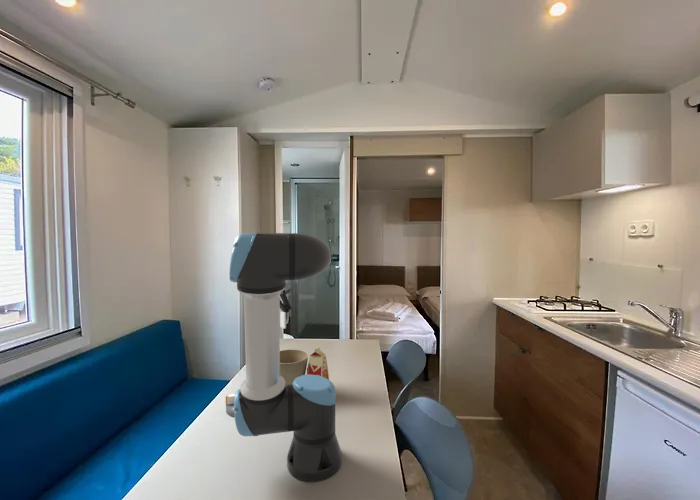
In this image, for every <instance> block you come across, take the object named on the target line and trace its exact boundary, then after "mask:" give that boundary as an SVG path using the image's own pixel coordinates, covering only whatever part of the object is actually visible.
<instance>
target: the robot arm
mask: <svg viewBox="0 0 700 500" xmlns="http://www.w3.org/2000/svg"><path fill="white" fill-rule="evenodd" d="M231 250H232V251H231V257H230V262H229V281H230V282H232V283H236V289H237V292H239V293H241V294H242V296H243V302H244V303H243V307H244V310H243V311H244V312H243V313H244V345H245V346H244V349H245V350H244V351H245V353H244V354H245V379H244V380H243V381H242V382H241V384H240V387H239V389H237V390H236V391H235V393H234V394H235V398H234V409H235V412H234V415H235V418H234V422H235V427H236V431H237V433H238V434H239V435H241V436H242V437H259V436H262V435H265V436H266V435H270V434H280V433H288V432H293V437H292V439H291V440H292V441H291V442H290V446H289V448H288V452H287V457H286V465H287V471H289V473H290V475H291V476H293V477H294V478H295V479H298V480H301V481H303V482H311V483H313V482H319V481H324V480H327V479H329V478H331V477H332V476H333V475H335V474H336V473H337V472H338V471H339V469H340V468H341V464H342V450H341V447H340V444H339V440H338V437H337V435H336V403H337V398H336V387H335V385H334V383H333V382H332V381H331V380H330V379H329V380H328V379H326V378H324V377H322V376H318V375H307V374H305V375H302V376H301V377H297V378H296V379H295V380H294V382H293V384H291V385H286V383H285V380H284V378H283V377H282V376H281V375H280V351H281V349H280V348H281V345H280V342H281V341H280V340H281V339H280V337H281V333H280V331H281V329H284V330H285V329H287V320H288V313H289V312H290V310H292V306H291V304H290V302H289V298H288V296H287V294H286V288H287V287H286V285H287V284H286V283H287V281H301V280H306V279H310V278H314V277H315V276H318V275H320V274H321V273H324V272H325V271H326V270H327V268H328V267H329V266H330V264H331V261H332V252H331V249H330V247H329V245H328V244H327V242H325V241H324V240H323V239H320V238H319V237H316V236H313V235H310V234H305V233H301V232H299V233H297V232H294V233H293V232H292V233H290V232H289V233H288V232H287V233H286V232H285V233H283V232H258V231H256V232H247V233H246V232H245V233H239V234H238V235H237V236H236V237H235V239H234V241H233V245H232V249H231ZM280 328H281V329H280Z"/></svg>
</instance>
